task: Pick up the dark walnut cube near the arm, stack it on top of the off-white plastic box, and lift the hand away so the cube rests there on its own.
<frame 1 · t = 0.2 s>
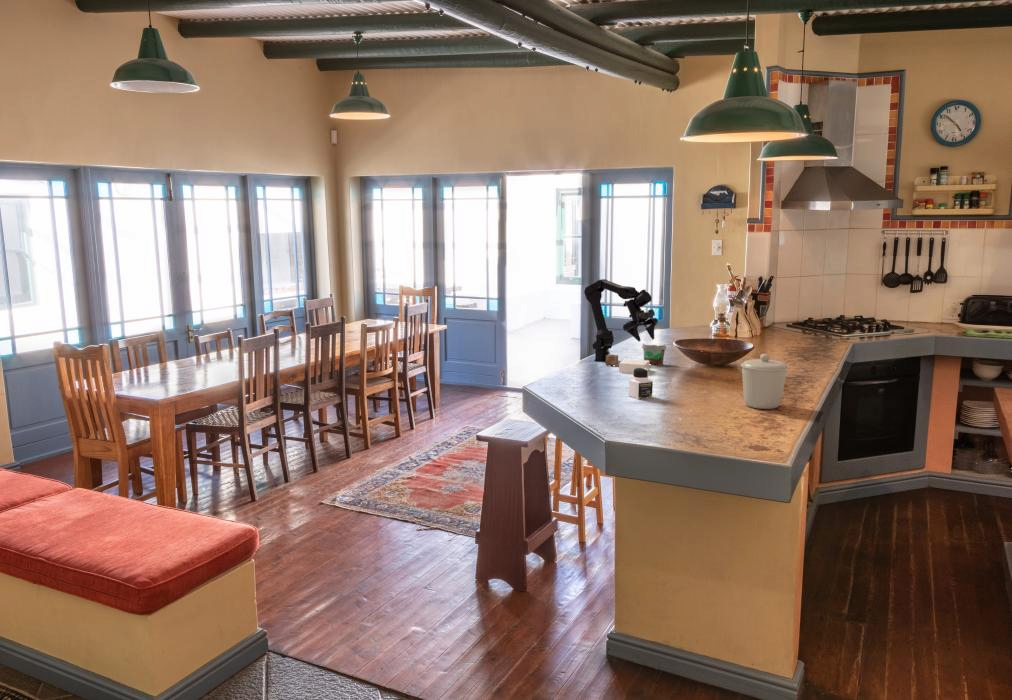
hand: (646, 340, 384), 15 cm above the worktop, tool tilted 30°, fingers open, 9 cm apart
plastic box: (634, 372, 382), on the worktop
canister: (761, 406, 314), on the worktop
medicine bottle: (640, 397, 329), on the worktop
food container: (651, 364, 400), on the worktop
walnut cube: (611, 365, 398), on the worktop
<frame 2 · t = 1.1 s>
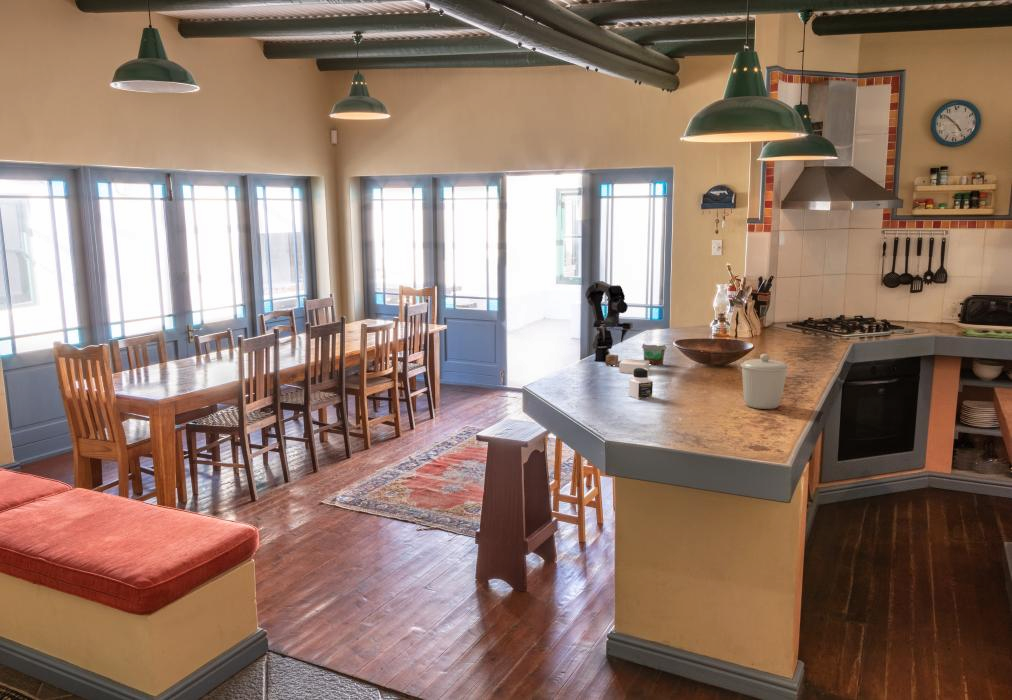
hand: (612, 341, 396), 12 cm above the worktop, tool pointing down, fingers open, 9 cm apart
nothing on the worktop moved.
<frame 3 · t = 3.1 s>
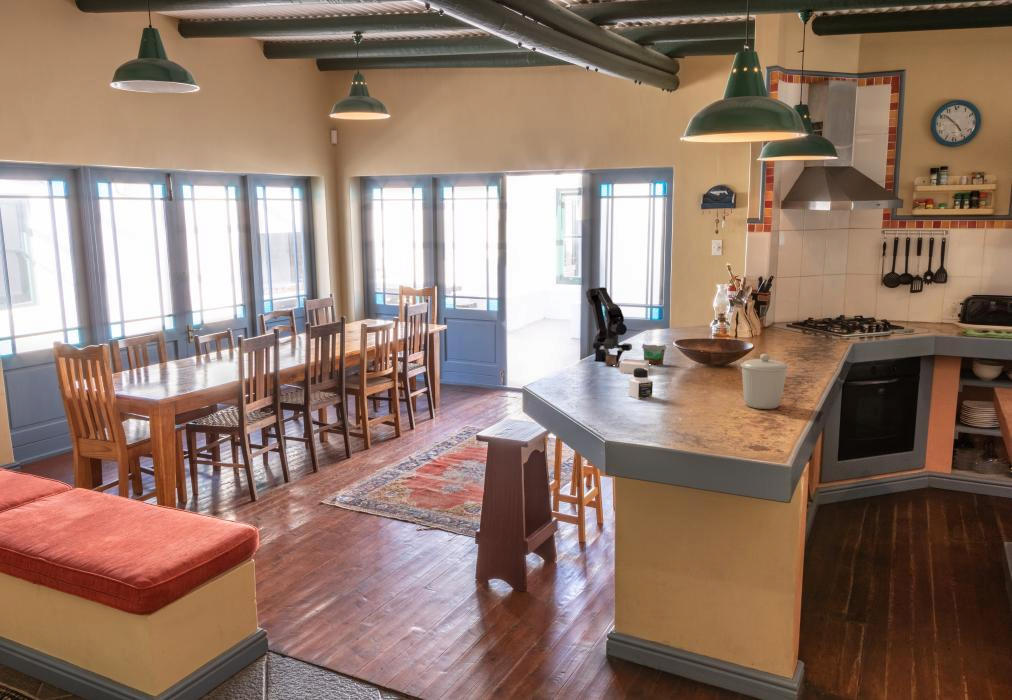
hand: (611, 363, 397), 1 cm above the worktop, tool pointing down, fingers closed on walnut cube, 5 cm apart
walnut cube: (611, 365, 398), on the worktop, touching gripper
everything else where it was.
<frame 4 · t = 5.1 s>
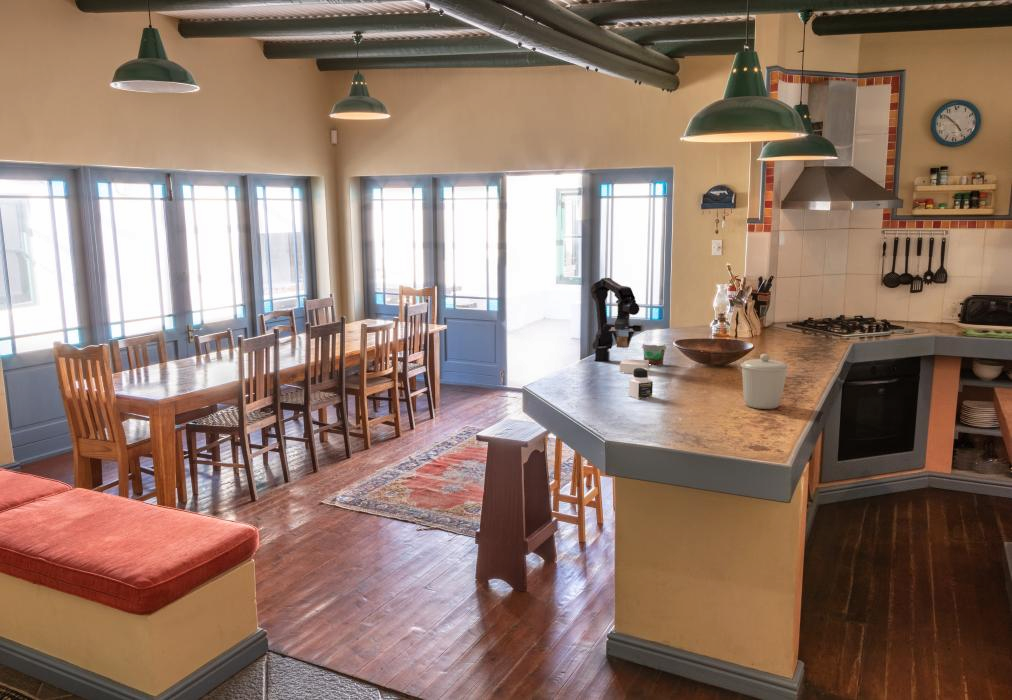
hand: (622, 344, 388), 12 cm above the worktop, tool pointing down, fingers closed on walnut cube, 5 cm apart
walnut cube: (622, 346, 388), point 11 cm above the worktop, touching gripper
everything else where it was.
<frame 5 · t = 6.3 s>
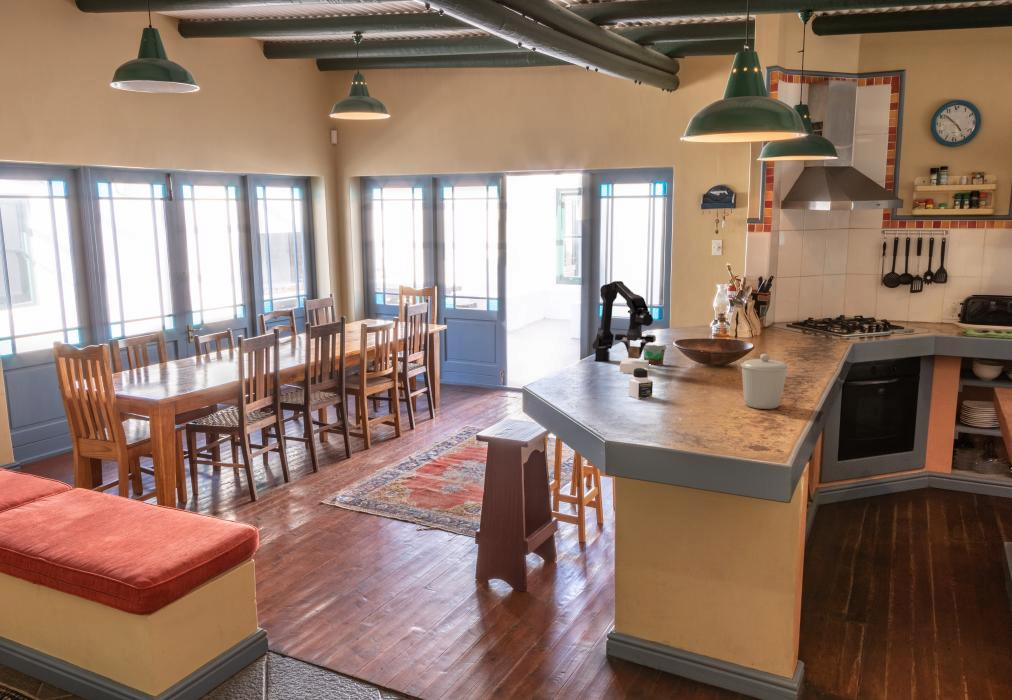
hand: (634, 355, 381), 8 cm above the worktop, tool pointing down, fingers closed on walnut cube, 5 cm apart
walnut cube: (634, 357, 381), point 7 cm above the worktop, touching gripper
everything else where it was.
when the fingers open (7 cm above the worktop, at t = 7.1 s): walnut cube drops 2 cm, resting on plastic box.
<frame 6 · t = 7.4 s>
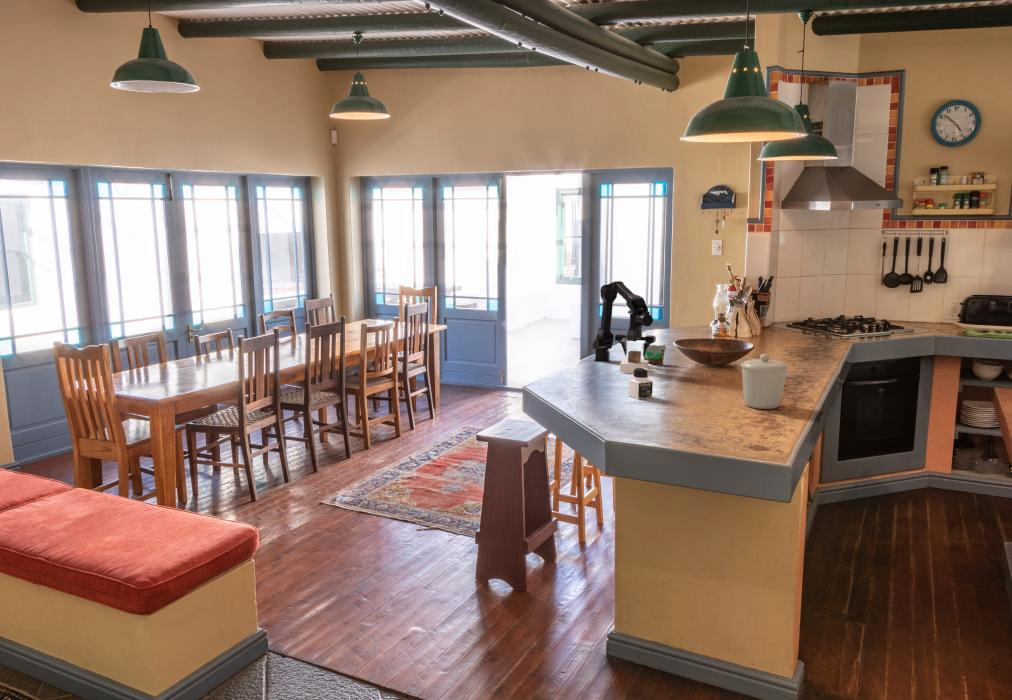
hand: (634, 355, 381), 7 cm above the worktop, tool pointing down, fingers open, 8 cm apart
plastic box: (634, 372, 382), on the worktop, touching walnut cube
walnut cube: (634, 361, 382), point 5 cm above the worktop, touching plastic box
everything else where it was.
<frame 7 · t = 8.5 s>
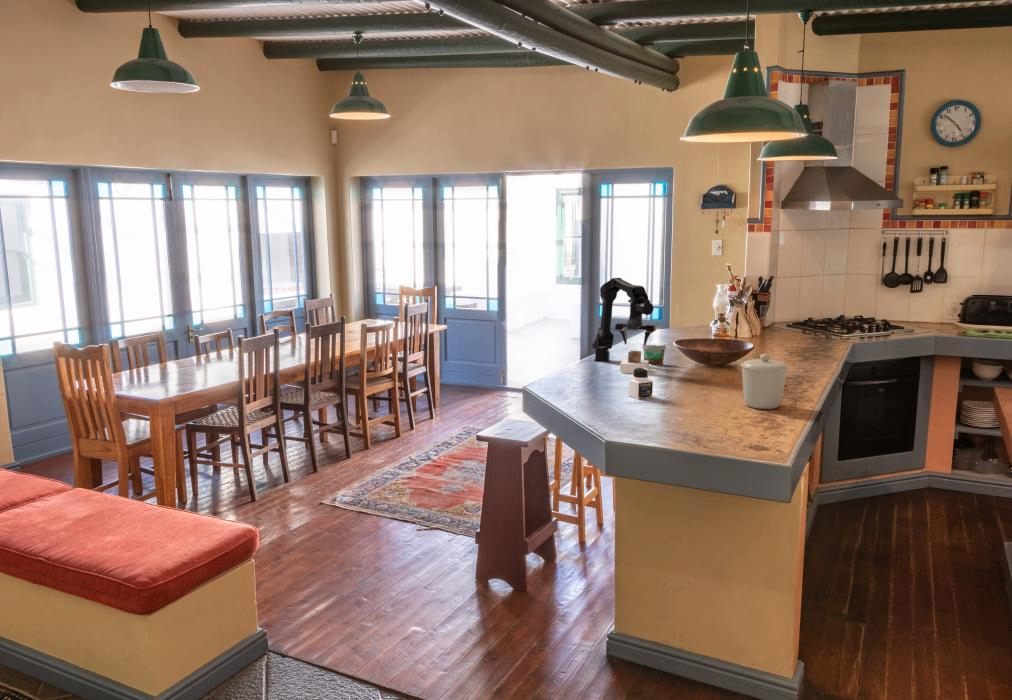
hand: (635, 345, 380), 13 cm above the worktop, tool pointing down, fingers open, 9 cm apart
plastic box: (634, 372, 382), on the worktop
walnut cube: (634, 361, 382), point 5 cm above the worktop
everything else where it was.
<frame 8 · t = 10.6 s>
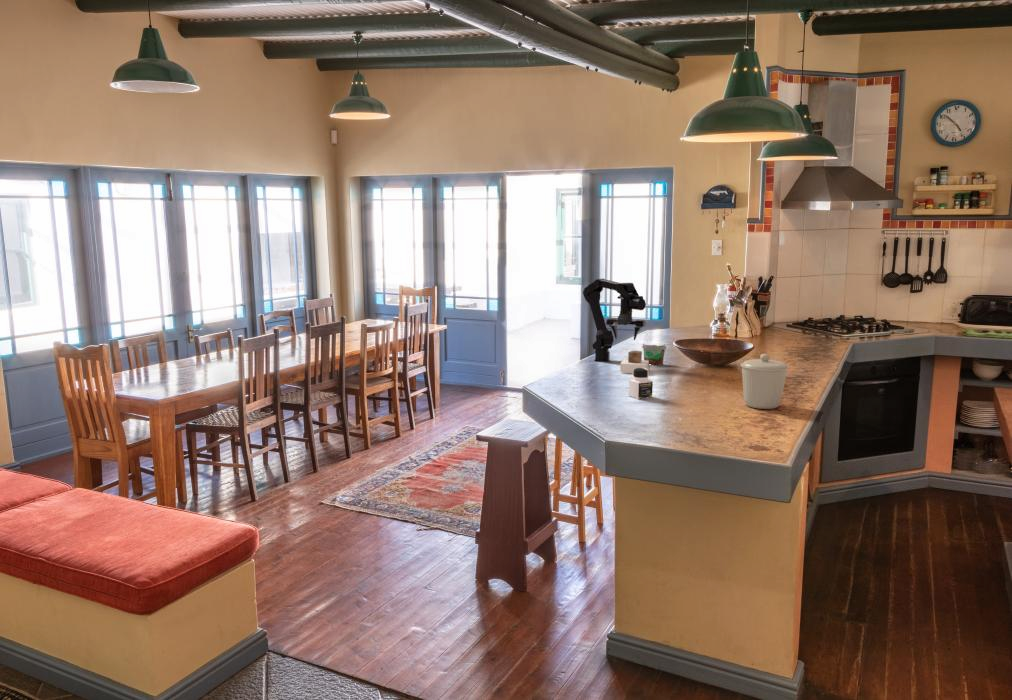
hand: (625, 339, 395), 13 cm above the worktop, tool pointing down, fingers open, 9 cm apart
nothing on the worktop moved.
at the end: walnut cube inside the target area on the plastic box (0.2 cm from its centre), point 5.0 cm above the plastic box's base; walnut cube tilted 0°; the gripper is holding nothing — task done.
